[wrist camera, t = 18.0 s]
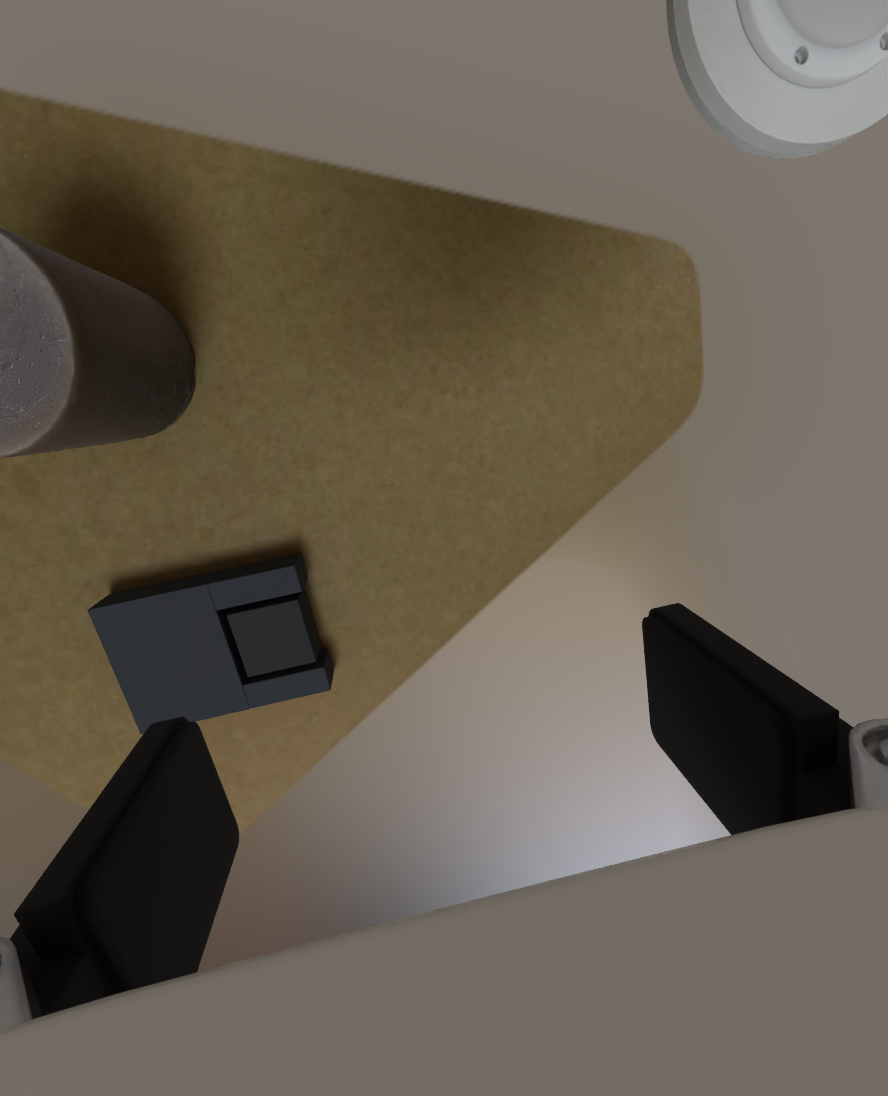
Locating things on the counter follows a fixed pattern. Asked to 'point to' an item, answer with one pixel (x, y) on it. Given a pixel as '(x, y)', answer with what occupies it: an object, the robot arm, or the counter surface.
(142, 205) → the counter surface
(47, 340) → the pillar candle
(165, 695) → the large pad
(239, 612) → the small pad
